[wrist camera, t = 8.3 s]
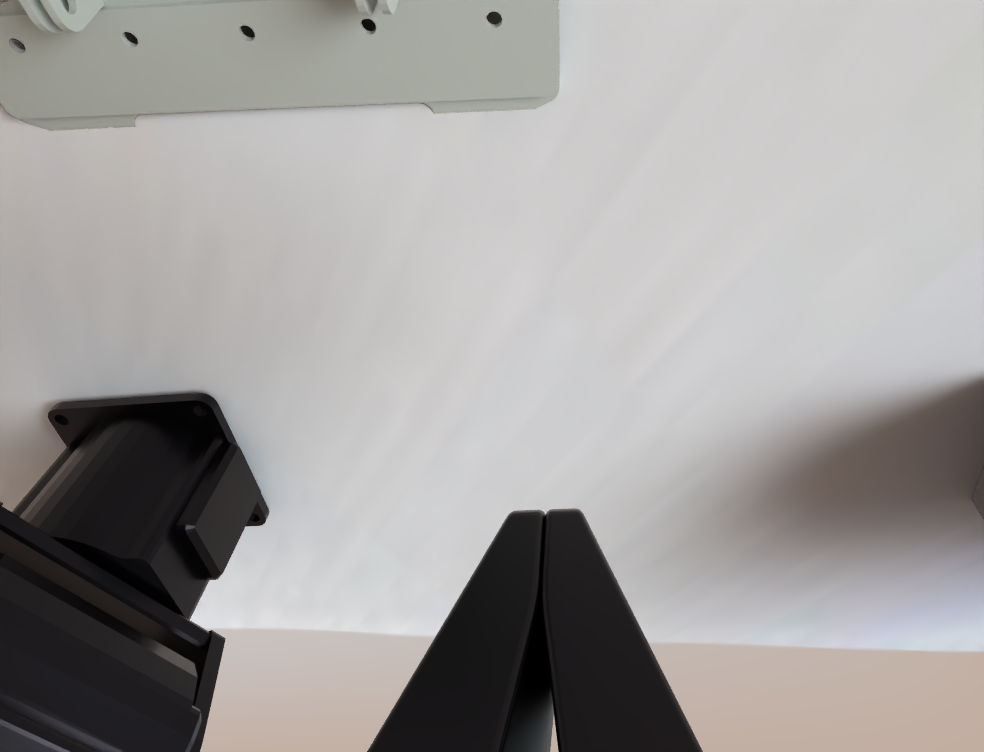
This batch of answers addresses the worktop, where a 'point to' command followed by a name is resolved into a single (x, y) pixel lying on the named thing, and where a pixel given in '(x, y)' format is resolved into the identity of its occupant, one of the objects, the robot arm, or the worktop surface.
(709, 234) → the worktop surface
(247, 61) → the metal bracket
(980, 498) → the grey rectangular box
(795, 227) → the worktop surface
